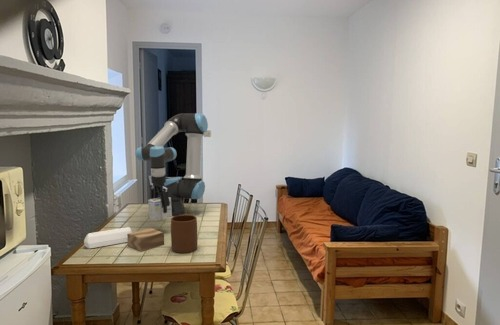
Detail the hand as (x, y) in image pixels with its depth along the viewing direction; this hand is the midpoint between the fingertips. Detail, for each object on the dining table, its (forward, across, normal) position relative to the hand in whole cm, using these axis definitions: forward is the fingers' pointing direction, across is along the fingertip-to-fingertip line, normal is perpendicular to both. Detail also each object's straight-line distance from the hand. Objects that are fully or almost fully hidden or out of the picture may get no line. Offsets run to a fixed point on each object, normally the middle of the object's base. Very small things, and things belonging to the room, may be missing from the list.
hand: (160, 217), depth 207 cm
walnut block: (+8, +10, -16) cm, 21 cm away
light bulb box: (+1, 0, 0) cm, 1 cm away
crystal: (+9, -6, -27) cm, 29 cm away
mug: (+9, +26, -4) cm, 28 cm away
